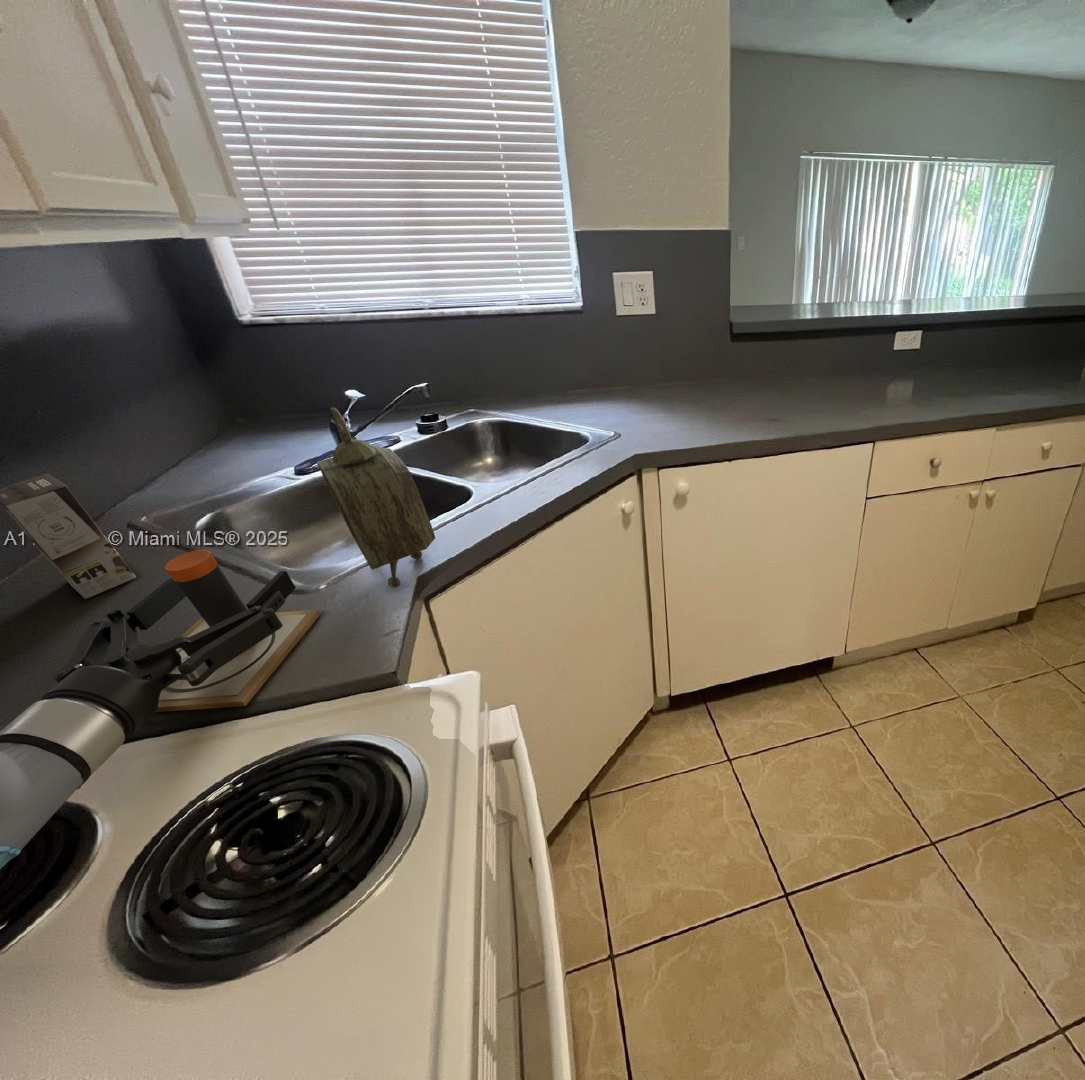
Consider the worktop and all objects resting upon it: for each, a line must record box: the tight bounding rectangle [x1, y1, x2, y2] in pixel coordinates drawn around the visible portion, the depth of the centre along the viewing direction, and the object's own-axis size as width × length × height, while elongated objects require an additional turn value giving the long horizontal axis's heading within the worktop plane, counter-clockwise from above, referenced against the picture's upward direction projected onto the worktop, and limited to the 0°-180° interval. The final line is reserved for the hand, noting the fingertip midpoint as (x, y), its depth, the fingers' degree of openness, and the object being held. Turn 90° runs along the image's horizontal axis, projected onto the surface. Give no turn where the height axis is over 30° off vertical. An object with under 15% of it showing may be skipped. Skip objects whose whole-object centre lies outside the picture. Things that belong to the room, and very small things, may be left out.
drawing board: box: [154, 609, 322, 713], centre depth 71 cm, size 16×16×1 cm
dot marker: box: [164, 549, 252, 627], centre depth 69 cm, size 4×4×13 cm
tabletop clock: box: [316, 407, 436, 589], centre depth 80 cm, size 14×9×25 cm, turn 41°
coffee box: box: [0, 473, 137, 600], centre depth 83 cm, size 9×6×16 cm
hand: (233, 582), depth 71 cm, fingers open, 13 cm apart
